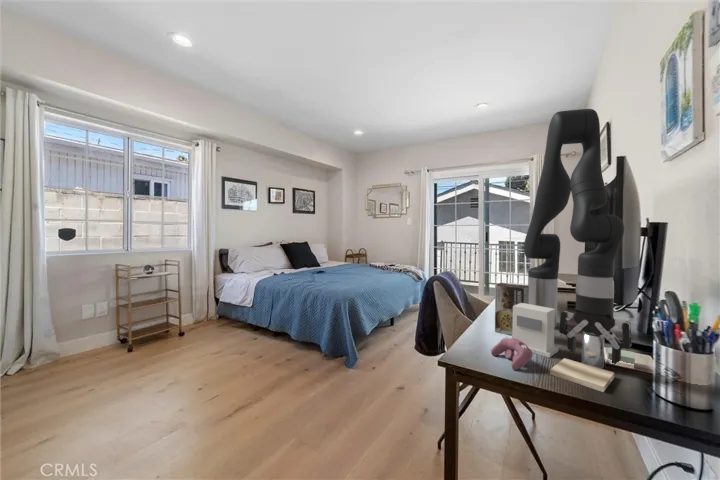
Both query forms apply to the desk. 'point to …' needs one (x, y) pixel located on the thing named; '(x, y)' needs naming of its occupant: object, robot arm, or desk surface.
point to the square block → (624, 356)
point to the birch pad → (583, 374)
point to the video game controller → (509, 347)
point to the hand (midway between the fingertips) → (592, 356)
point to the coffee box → (508, 304)
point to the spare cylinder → (593, 350)
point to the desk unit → (535, 328)
